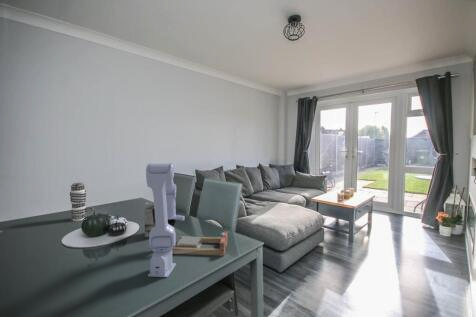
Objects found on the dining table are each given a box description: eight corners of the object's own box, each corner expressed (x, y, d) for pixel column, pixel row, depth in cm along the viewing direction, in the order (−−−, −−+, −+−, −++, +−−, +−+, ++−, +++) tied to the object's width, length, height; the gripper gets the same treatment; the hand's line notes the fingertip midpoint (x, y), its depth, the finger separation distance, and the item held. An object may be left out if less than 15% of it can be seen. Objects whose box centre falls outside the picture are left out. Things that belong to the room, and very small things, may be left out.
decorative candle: (72, 217, 154) (71, 182, 152) (88, 216, 158) (86, 181, 156) (69, 222, 146) (67, 184, 144) (85, 220, 149) (84, 183, 148)
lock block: (196, 252, 105) (196, 244, 105) (177, 251, 107) (176, 243, 106) (201, 244, 113) (201, 237, 113) (183, 243, 114) (183, 236, 114)
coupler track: (223, 256, 101) (223, 243, 101) (170, 253, 103) (170, 241, 103) (227, 242, 116) (227, 231, 115) (181, 240, 118) (180, 229, 117)
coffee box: (155, 238, 121) (154, 209, 120) (144, 237, 122) (143, 208, 121) (163, 231, 130) (163, 204, 129) (153, 230, 131) (153, 204, 130)
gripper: (186, 205, 113) (186, 231, 114) (159, 204, 114) (159, 230, 115) (181, 209, 106) (182, 236, 107) (152, 208, 107) (153, 235, 108)
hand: (170, 233), depth 110 cm, fingers closed
